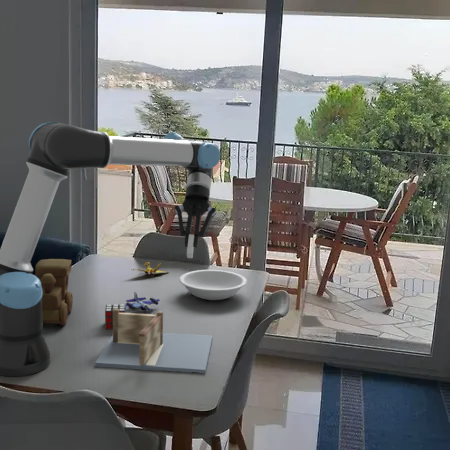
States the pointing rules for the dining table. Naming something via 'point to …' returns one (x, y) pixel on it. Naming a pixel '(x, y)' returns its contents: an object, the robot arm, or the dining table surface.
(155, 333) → the fence panel
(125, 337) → the fence fixed section
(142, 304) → the toy airplane
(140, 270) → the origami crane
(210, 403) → the dining table surface
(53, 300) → the wooden toy train
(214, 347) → the dining table surface
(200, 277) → the soup bowl
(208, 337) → the board
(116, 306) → the puzzle toy
